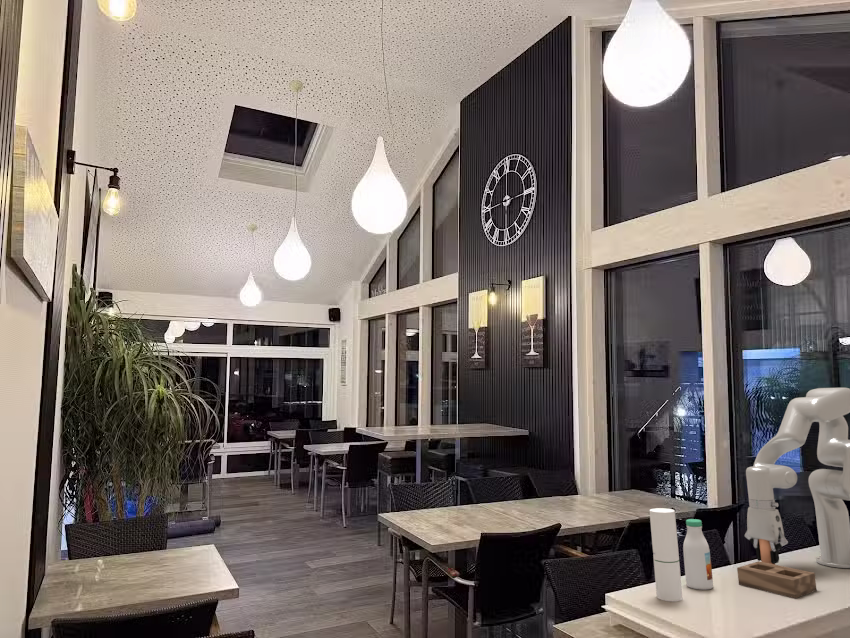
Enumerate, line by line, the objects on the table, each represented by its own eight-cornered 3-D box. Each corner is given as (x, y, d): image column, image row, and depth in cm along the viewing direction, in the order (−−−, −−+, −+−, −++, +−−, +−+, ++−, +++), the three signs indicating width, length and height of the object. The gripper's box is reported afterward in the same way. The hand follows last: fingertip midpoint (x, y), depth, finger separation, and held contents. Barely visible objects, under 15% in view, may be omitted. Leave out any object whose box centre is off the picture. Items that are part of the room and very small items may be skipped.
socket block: (760, 577, 194) (758, 561, 195) (816, 590, 180) (814, 572, 180) (738, 584, 188) (737, 567, 189) (795, 598, 173) (793, 580, 174)
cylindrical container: (678, 593, 181) (670, 508, 185) (685, 601, 174) (677, 512, 178) (653, 593, 182) (646, 508, 185) (660, 601, 175) (653, 512, 178)
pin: (766, 570, 201) (762, 533, 203) (778, 573, 198) (774, 535, 200) (760, 572, 199) (755, 535, 201) (772, 575, 196) (767, 537, 197)
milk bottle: (702, 591, 182) (695, 523, 185) (680, 585, 189) (675, 519, 192) (718, 587, 186) (712, 520, 188) (697, 581, 192) (691, 516, 195)
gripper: (793, 506, 196) (800, 564, 194) (744, 500, 211) (750, 554, 208) (781, 509, 193) (787, 568, 190) (731, 502, 207) (737, 558, 204)
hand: (768, 560), depth 199 cm, fingers closed on pin, 4 cm apart
